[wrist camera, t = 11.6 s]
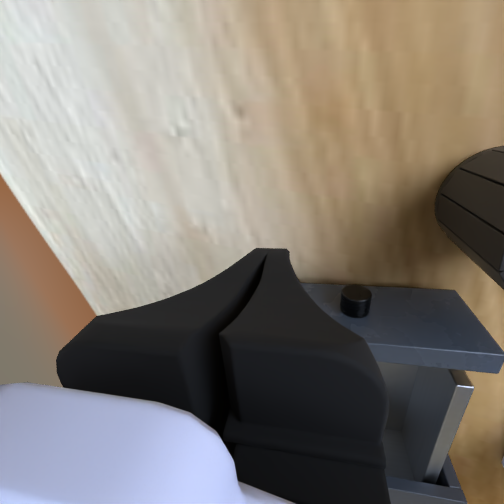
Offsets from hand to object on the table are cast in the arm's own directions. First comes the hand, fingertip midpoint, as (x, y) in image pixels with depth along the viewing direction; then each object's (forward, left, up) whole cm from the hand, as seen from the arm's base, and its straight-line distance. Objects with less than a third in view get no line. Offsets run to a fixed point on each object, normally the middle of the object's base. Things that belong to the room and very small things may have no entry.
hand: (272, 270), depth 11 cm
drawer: (-3, +11, -6) cm, 13 cm away
